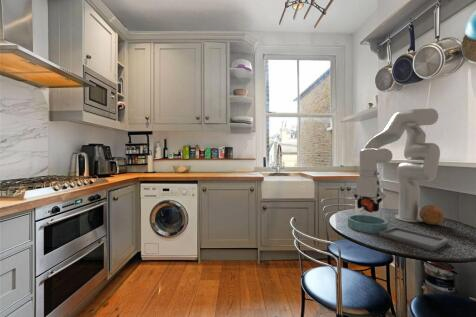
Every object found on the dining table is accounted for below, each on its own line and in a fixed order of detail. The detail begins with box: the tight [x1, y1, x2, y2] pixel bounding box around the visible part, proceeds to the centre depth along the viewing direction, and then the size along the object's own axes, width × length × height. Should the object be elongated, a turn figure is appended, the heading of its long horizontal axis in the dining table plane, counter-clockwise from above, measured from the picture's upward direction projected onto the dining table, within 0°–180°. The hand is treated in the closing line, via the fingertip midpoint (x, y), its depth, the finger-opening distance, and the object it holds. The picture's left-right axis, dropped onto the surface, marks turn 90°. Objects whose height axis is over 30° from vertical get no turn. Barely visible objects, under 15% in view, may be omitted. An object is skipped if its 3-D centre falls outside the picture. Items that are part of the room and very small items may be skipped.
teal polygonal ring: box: [347, 214, 388, 234], centre depth 122 cm, size 17×17×4 cm
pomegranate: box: [360, 198, 375, 213], centre depth 122 cm, size 7×7×10 cm
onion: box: [419, 204, 444, 225], centre depth 126 cm, size 10×10×10 cm
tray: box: [378, 226, 449, 253], centre depth 104 cm, size 14×20×2 cm
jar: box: [354, 196, 372, 216], centre depth 143 cm, size 9×8×12 cm
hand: (367, 209), depth 122 cm, fingers closed on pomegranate, 7 cm apart
